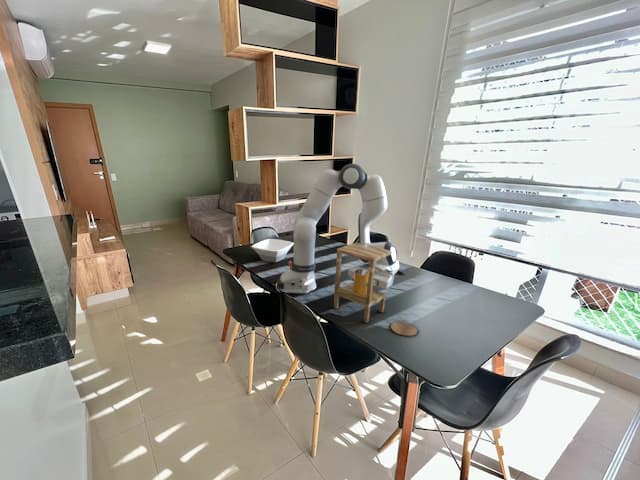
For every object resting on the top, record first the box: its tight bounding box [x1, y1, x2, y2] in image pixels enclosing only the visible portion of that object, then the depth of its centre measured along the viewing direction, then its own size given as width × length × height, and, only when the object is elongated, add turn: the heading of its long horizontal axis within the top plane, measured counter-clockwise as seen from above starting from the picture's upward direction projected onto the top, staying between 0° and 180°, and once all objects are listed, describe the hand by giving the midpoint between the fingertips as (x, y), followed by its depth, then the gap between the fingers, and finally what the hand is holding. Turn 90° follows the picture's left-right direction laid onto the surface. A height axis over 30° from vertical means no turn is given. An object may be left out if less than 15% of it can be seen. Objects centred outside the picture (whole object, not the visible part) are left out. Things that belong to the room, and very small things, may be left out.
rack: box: [333, 242, 392, 324], centre depth 129 cm, size 14×18×30 cm
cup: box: [352, 270, 369, 296], centre depth 129 cm, size 7×7×10 cm
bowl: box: [250, 238, 294, 263], centre depth 201 cm, size 24×25×10 cm
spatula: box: [375, 262, 405, 275], centre depth 180 cm, size 24×7×2 cm, turn 37°
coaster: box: [390, 321, 418, 337], centre depth 119 cm, size 10×10×1 cm
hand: (359, 282), depth 129 cm, fingers closed on cup, 6 cm apart
